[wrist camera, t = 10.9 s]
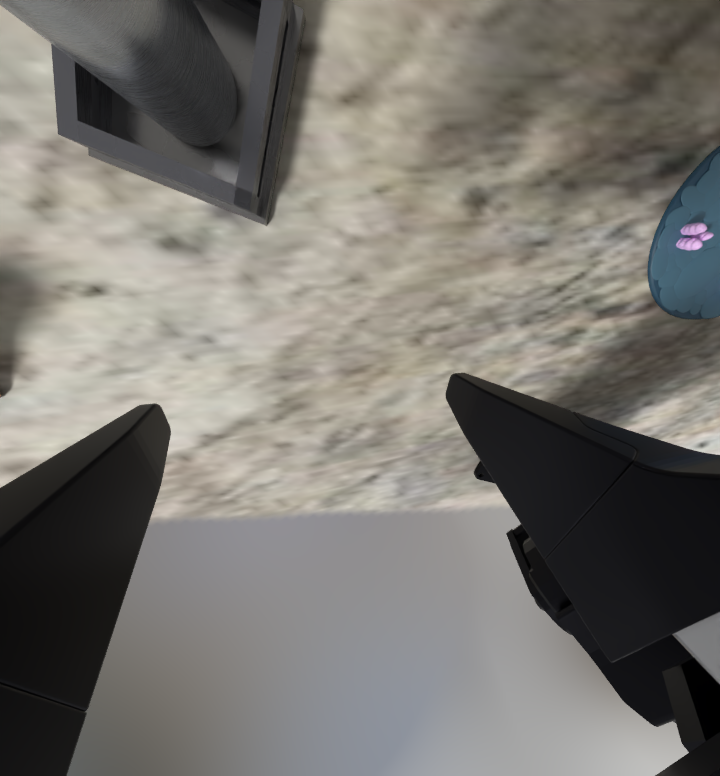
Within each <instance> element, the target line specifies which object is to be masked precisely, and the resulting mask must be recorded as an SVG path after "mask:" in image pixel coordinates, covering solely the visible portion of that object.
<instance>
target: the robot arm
mask: <svg viewBox="0 0 720 776" xmlns="http://www.w3.org/2000/svg"><path fill="white" fill-rule="evenodd" d="M446 399H447V402H448V404H449V406H450V408H451V410H452V412H453V414H454V416H455V418H456V420H457V422H458V424H459V426H460V427H461V429H462V431H463V433H464V435H465V436H466V438H467V440H468V441H469V443H470V444H471V446H472V448H473V449H474V451H475V452H476V454H477V455H478V457H479V459H480V460H481V462H480V464H479V465H478V467H477V468H476V470H475V471H474V475H475V477H476V478H477V479H479V480H484V481H488V482H492V483H496V485H497V487H498V488H499V490H500V491H501V493H502V494H503V496H504V498H505V499H506V501H507V502H508V504H509V505H510V507H511V508H512V510H513V512H514V513H515V515H516V516H517V518H518V519H519V521H520V523H521V524H520V525H519V526H518V527H516V528H515V529H514V530H512V529H511V530H510V531H509V532H508V533H507V537H508V539H509V541H510V545H511V548H512V550H513V553H514V555H515V557H516V560H517V562H518V565H519V567H520V569H521V572H522V574H523V577H524V579H525V581H526V584H527V586H528V589H529V591H530V593H531V594H532V596H533V597H534V599H535V602H536V604H537V605H538V606H539V608H540V609H542V610H544V611H545V612H546V613H547V614H548V615H549V616H550V617H551V618H552V620H554V622H555V623H556V624H557V625H558V626H560V627H561V628H562V629H563V630H564V631H566V632H567V633H569V634H571V635H573V636H574V637H575V639H576V640H577V641H578V642H579V643H580V645H581V646H582V647H583V648H584V649H585V651H586V652H587V653H588V654H589V655H590V657H591V658H592V659H593V661H594V662H595V663H596V665H597V666H598V667H599V669H600V670H601V671H602V673H603V674H604V675H605V677H606V678H607V680H608V681H609V682H610V684H611V685H612V686H613V688H614V689H615V691H616V692H617V693H618V694H619V696H620V697H621V699H622V700H623V701H624V702H625V703H626V704H627V705H628V706H630V707H631V708H632V709H633V710H635V711H636V712H637V713H638V714H639V715H641V716H642V717H643V718H644V719H646V720H647V721H648V722H649V723H651V724H652V725H654V726H656V727H659V726H661V725H664V724H666V723H669V722H672V721H673V722H675V723H676V724H677V727H678V731H679V735H680V738H681V742H682V744H683V745H684V747H685V748H686V749H687V750H688V752H689V753H688V754H687V755H685V756H684V757H682V758H681V759H679V760H678V761H677V762H675V763H673V764H672V765H670V766H669V767H667V768H666V769H665V770H663V771H662V772H660V773H659V774H657V775H656V776H720V455H715V454H707V453H702V452H698V451H694V450H690V449H686V448H683V447H680V446H677V445H674V444H670V443H667V442H664V441H661V440H658V439H655V438H651V437H648V436H645V435H642V434H639V433H635V432H632V431H629V430H626V429H623V428H620V427H617V426H614V425H611V424H608V423H605V422H602V421H599V420H596V419H593V418H590V417H587V416H584V415H582V414H579V413H576V412H572V411H570V410H567V409H565V408H562V407H559V406H556V405H553V404H550V403H548V402H545V401H542V400H539V399H536V398H534V397H531V396H528V395H525V394H522V393H520V392H517V391H514V390H511V389H508V388H505V387H503V386H500V385H497V384H494V383H491V382H489V381H486V380H483V379H480V378H477V377H474V376H472V375H469V374H466V373H455V374H452V375H451V377H450V380H449V383H448V387H447V390H446ZM170 435H171V430H170V426H169V423H168V421H167V419H166V417H165V414H164V412H163V410H162V408H161V406H160V405H158V404H145V405H139V406H137V407H136V408H134V409H132V410H131V411H129V412H127V413H126V414H124V415H122V416H120V417H119V418H117V419H115V420H114V421H112V422H110V423H109V424H107V425H105V426H104V427H102V428H100V429H99V430H97V431H95V432H94V433H92V434H90V435H89V436H87V437H85V438H84V439H82V440H80V441H78V442H77V443H75V444H73V445H72V446H70V447H68V448H67V449H65V450H63V451H62V452H60V453H58V454H57V455H55V456H53V457H52V458H50V459H48V460H47V461H45V462H43V463H41V464H40V465H38V466H36V467H35V468H33V469H31V470H30V471H28V472H26V473H25V474H23V475H21V476H20V477H18V478H16V479H15V480H13V481H11V482H10V483H8V484H6V485H5V486H3V487H1V488H0V776H67V773H68V770H69V766H70V763H71V760H72V757H73V754H74V751H75V748H76V745H77V742H78V739H79V736H80V732H81V729H82V727H83V724H84V721H85V717H86V714H87V713H86V712H85V711H86V710H87V709H88V707H89V704H90V701H91V698H92V695H93V692H94V689H95V686H96V683H97V680H98V677H99V673H100V670H101V667H102V664H103V661H104V658H105V655H106V652H107V649H108V646H109V643H110V639H111V637H112V634H113V631H114V628H115V624H116V621H117V618H118V615H119V612H120V609H121V606H122V603H123V600H124V596H125V594H126V591H127V588H128V584H129V582H130V579H131V575H132V572H133V569H134V566H135V563H136V560H137V557H138V554H139V551H140V548H141V545H142V541H143V538H144V535H145V533H146V529H147V526H148V523H149V520H150V517H151V514H152V511H153V508H154V505H155V502H156V499H157V496H158V493H159V489H160V486H161V482H162V478H163V473H164V467H165V462H166V457H167V451H168V446H169V440H170ZM480 473H481V474H480Z"/></svg>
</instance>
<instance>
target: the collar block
mask: <svg viewBox="0 0 720 776" xmlns="http://www.w3.org/2000/svg"><path fill="white" fill-rule="evenodd" d="M193 2H194V3H195V5H196V7H197V9H198V10H199V12H200V14H201V16H202V18H203V19H204V21H205V23H206V25H207V26H208V28H209V30H210V32H211V34H212V35H213V37H214V39H215V41H216V42H217V44H218V46H219V48H220V50H221V51H222V53H223V55H224V57H225V59H226V61H227V63H228V64H229V67H230V69H231V72H232V75H233V78H234V82H235V87H236V94H237V108H236V115H235V119H234V122H233V125H232V127H231V129H230V131H229V132H228V133H227V135H226V136H225V137H224V138H223V139H222V140H220V141H219V142H217V143H215V144H213V145H209V146H195V145H191V144H188V143H185V142H183V141H181V140H180V139H178V138H177V137H175V136H174V135H172V134H171V133H170V132H168V131H167V130H166V129H164V128H163V127H162V126H160V125H159V124H158V123H156V122H155V121H154V120H152V119H151V118H150V117H148V116H147V115H146V114H144V113H143V112H142V111H140V110H139V109H138V108H136V107H135V106H134V105H132V104H131V103H130V102H129V101H127V100H126V99H125V98H123V97H122V96H121V95H119V94H118V93H117V92H115V91H114V90H113V89H111V88H110V87H109V86H107V85H106V84H105V83H103V82H102V81H101V80H99V79H98V78H97V77H95V76H94V75H93V74H91V73H90V72H89V71H87V70H86V69H85V68H83V67H82V66H81V65H79V64H78V63H77V62H75V61H74V60H73V59H71V58H70V57H69V56H67V55H66V54H65V53H63V52H62V51H61V50H59V49H58V48H57V47H55V46H54V45H53V44H52V43H51V45H52V59H53V72H54V85H55V99H56V112H57V125H58V134H59V135H61V136H63V137H65V138H68V139H70V140H72V141H74V142H76V143H79V144H81V145H83V146H85V147H87V148H88V150H89V156H91V157H94V158H96V159H99V160H101V161H104V162H106V163H109V164H111V165H114V166H116V167H119V168H121V169H124V170H126V171H129V172H132V173H134V174H137V175H139V176H142V177H144V178H147V179H149V180H152V181H154V182H157V183H159V184H162V185H165V186H167V187H170V188H172V189H175V190H177V191H180V192H182V193H185V194H187V195H190V196H192V197H195V198H198V199H200V200H203V201H205V202H208V203H210V204H213V205H215V206H218V207H220V208H223V209H225V210H228V211H231V212H233V213H236V214H238V215H241V216H243V217H246V218H248V219H251V220H253V221H256V222H258V223H261V224H264V225H266V226H267V223H268V218H269V212H270V207H271V201H272V196H273V191H274V185H275V180H276V175H277V169H278V164H279V158H280V153H281V148H282V142H283V137H284V132H285V126H286V121H287V115H288V110H289V105H290V99H291V94H292V89H293V83H294V78H295V72H296V67H297V62H298V56H299V51H300V46H301V40H302V35H303V29H304V24H305V15H304V9H302V8H301V7H299V6H297V5H295V4H294V3H293V0H193Z"/></svg>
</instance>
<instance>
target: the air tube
mask: <svg viewBox="0 0 720 776" xmlns="http://www.w3.org/2000/svg"><path fill="white" fill-rule="evenodd" d="M0 5H1V6H2V7H4V8H5V9H6V10H8V11H9V12H10V13H12V14H13V15H14V16H16V17H17V18H18V19H20V20H21V21H22V22H24V23H25V24H26V25H28V26H29V27H30V28H32V29H33V30H34V31H36V32H37V33H38V34H40V35H41V36H42V37H44V38H45V39H46V40H48V41H49V42H50V43H52V44H53V45H54V46H55V47H57V48H58V49H59V50H61V51H62V52H63V53H65V54H66V55H67V56H69V57H70V58H71V59H73V60H74V61H75V62H77V63H78V64H79V65H81V66H82V67H83V68H85V69H86V70H87V71H89V72H90V73H91V74H93V75H94V76H95V77H97V78H98V79H99V80H101V81H102V82H103V83H105V84H106V85H107V86H109V87H110V88H111V89H113V90H114V91H115V92H117V93H118V94H119V95H121V96H122V97H123V98H125V99H126V100H127V101H129V102H130V103H131V104H132V105H134V106H135V107H136V108H138V109H139V110H140V111H142V112H143V113H144V114H146V115H147V116H148V117H150V118H151V119H152V120H154V121H155V122H156V123H158V124H159V125H160V126H162V127H163V128H164V129H166V130H167V131H168V132H170V133H171V134H172V135H174V136H175V137H177V138H178V139H180V140H181V141H183V142H185V143H188V144H191V145H195V146H209V145H213V144H215V143H217V142H219V141H220V140H222V139H223V138H224V137H225V136H226V135H227V133H228V132H229V131H230V129H231V127H232V125H233V122H234V119H235V115H236V108H237V94H236V87H235V82H234V78H233V75H232V72H231V69H230V67H229V64H228V63H227V61H226V59H225V57H224V55H223V53H222V51H221V50H220V48H219V46H218V44H217V42H216V41H215V39H214V37H213V35H212V34H211V32H210V30H209V28H208V26H207V25H206V23H205V21H204V19H203V18H202V16H201V14H200V12H199V10H198V9H197V7H196V5H195V3H194V2H193V0H0Z"/></svg>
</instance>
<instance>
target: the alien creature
mask: <svg viewBox="0 0 720 776" xmlns="http://www.w3.org/2000/svg"><path fill="white" fill-rule="evenodd" d="M648 282H649V287H650V290H651V293H652V296H653V298H654V300H655V301H656V303H657V304H658V305H659V306H660V307H661V308H662V309H663V310H664V311H666V312H667V313H669V314H670V315H673V316H675V317H679V318H683V319H703V318H704V319H710V318H714V317H718V316H720V146H719V147H717V148H716V149H715V150H714V151H713V152H712V153H711V154H710V155H709V156H708V157H706V158H705V159H704V160H703V161H702V162H701V163H700V164H699V166H698V167H697V168H696V169H695V170H694V171H693V172H692V173H691V175H690V176H689V177H688V178H687V179H686V181H685V182H684V183H683V185H682V186H681V187H680V189H679V190H678V191H677V193H676V194H675V196H674V198H673V199H672V201H671V202H670V204H669V206H668V207H667V209H666V211H665V213H664V215H663V217H662V219H661V221H660V223H659V226H658V228H657V230H656V233H655V236H654V239H653V242H652V246H651V249H650V254H649V261H648Z"/></svg>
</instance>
